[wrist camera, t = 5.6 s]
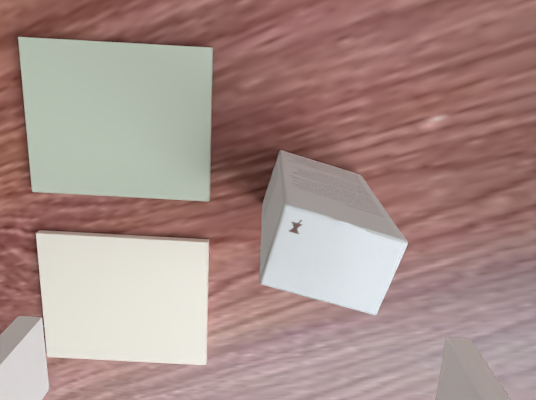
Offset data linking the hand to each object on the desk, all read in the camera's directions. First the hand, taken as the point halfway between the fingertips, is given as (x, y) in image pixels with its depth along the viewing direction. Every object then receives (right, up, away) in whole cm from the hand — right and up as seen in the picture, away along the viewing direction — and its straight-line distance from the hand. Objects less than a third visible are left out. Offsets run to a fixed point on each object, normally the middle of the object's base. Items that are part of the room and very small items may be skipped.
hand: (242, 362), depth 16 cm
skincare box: (+4, +6, +18) cm, 19 cm away
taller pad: (-10, -2, +20) cm, 23 cm away
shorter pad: (-9, +11, +16) cm, 21 cm away
